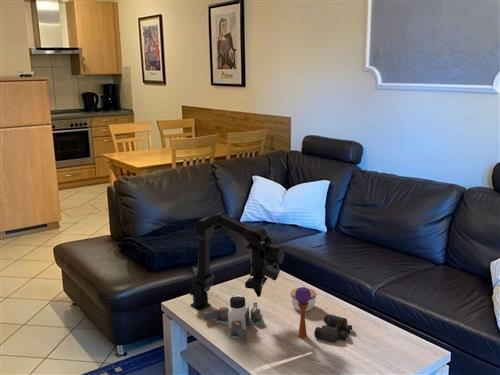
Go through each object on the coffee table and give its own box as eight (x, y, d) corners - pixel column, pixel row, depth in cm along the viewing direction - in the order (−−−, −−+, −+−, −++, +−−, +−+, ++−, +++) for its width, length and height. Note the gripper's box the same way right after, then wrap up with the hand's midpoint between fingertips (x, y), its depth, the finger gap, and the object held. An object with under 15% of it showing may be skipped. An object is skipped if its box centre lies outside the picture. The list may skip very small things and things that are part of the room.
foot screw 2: (260, 321, 198) (260, 311, 198) (250, 321, 199) (250, 311, 198) (260, 310, 208) (260, 300, 207) (250, 310, 208) (250, 300, 207)
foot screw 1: (227, 315, 204) (227, 305, 203) (229, 319, 200) (229, 310, 199) (203, 318, 201) (203, 309, 200) (205, 323, 198) (205, 313, 197)
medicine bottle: (246, 329, 193) (244, 301, 190) (229, 329, 195) (226, 301, 192) (250, 320, 200) (247, 293, 197) (233, 320, 201) (230, 293, 198)
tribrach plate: (204, 324, 198) (204, 323, 198) (238, 308, 212) (238, 307, 212) (236, 341, 185) (236, 339, 185) (271, 323, 199) (271, 321, 199)
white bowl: (287, 312, 208) (287, 292, 206) (294, 302, 218) (295, 282, 216) (312, 317, 204) (312, 296, 202) (318, 306, 214) (318, 286, 212)
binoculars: (354, 327, 195) (355, 313, 194) (341, 346, 182) (342, 331, 180) (328, 321, 201) (328, 307, 199) (314, 339, 187) (314, 324, 186)
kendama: (313, 335, 189) (314, 287, 185) (305, 341, 185) (305, 292, 180) (299, 330, 193) (300, 283, 188) (291, 337, 188) (292, 288, 184)
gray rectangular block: (229, 331, 191) (229, 321, 190) (239, 329, 193) (239, 319, 192) (240, 343, 182) (240, 332, 181) (250, 340, 184) (249, 330, 183)
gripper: (272, 269, 183) (273, 308, 187) (282, 253, 201) (283, 288, 204) (244, 267, 186) (245, 305, 190) (256, 251, 204) (257, 286, 207)
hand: (259, 296), depth 198 cm, fingers closed
